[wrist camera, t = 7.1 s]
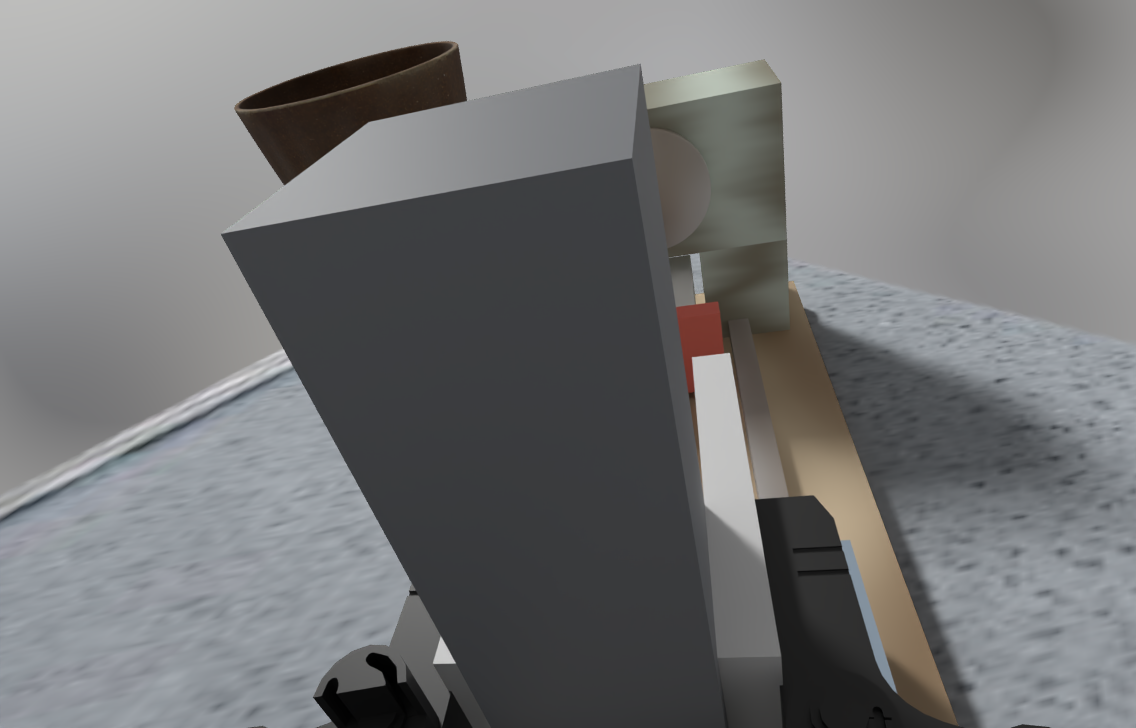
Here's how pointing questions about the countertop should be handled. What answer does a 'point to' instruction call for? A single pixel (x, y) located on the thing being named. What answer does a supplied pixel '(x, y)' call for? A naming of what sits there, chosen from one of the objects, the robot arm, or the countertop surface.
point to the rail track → (774, 331)
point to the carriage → (514, 393)
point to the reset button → (694, 318)
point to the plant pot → (348, 102)
